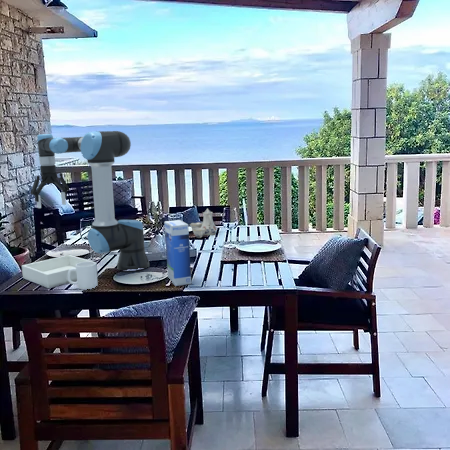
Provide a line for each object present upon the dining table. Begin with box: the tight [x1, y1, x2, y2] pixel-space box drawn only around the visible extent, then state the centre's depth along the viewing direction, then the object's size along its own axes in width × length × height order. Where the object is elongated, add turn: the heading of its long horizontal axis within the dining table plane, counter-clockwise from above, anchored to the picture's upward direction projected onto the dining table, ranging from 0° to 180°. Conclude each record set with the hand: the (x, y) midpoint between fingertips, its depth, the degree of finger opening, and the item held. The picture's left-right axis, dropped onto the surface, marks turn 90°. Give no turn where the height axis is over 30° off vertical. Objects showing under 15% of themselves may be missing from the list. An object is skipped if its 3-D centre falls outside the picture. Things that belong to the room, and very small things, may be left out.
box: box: [21, 254, 98, 289], centre depth 226 cm, size 24×24×6 cm
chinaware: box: [189, 208, 218, 239], centre depth 307 cm, size 28×17×17 cm, turn 14°
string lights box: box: [164, 219, 192, 287], centre depth 211 cm, size 13×8×26 cm, turn 21°
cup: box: [67, 260, 99, 291], centre depth 208 cm, size 8×12×10 cm
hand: (52, 206), depth 255 cm, fingers open, 13 cm apart
